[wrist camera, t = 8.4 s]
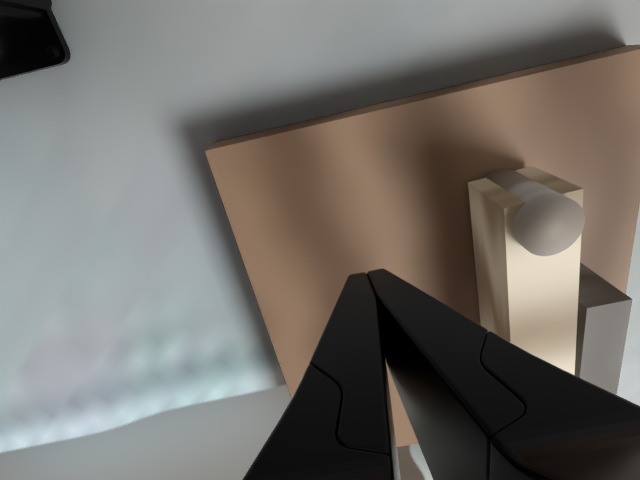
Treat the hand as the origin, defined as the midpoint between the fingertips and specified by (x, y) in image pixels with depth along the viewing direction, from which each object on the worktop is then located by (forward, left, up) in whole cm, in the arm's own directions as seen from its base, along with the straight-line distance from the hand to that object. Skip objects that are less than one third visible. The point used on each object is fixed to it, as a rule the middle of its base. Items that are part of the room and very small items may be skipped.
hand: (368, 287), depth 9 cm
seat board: (+5, -9, -12) cm, 15 cm away
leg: (+8, -8, -9) cm, 14 cm away
